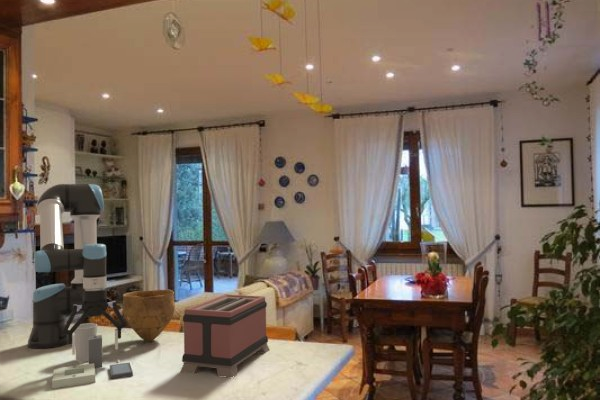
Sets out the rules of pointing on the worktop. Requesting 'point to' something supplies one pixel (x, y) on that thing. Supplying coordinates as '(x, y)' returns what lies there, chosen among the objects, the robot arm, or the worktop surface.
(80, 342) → the cup
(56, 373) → the outlet plate
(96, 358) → the block
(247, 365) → the worktop surface
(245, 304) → the toaster
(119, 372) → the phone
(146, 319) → the bowl
